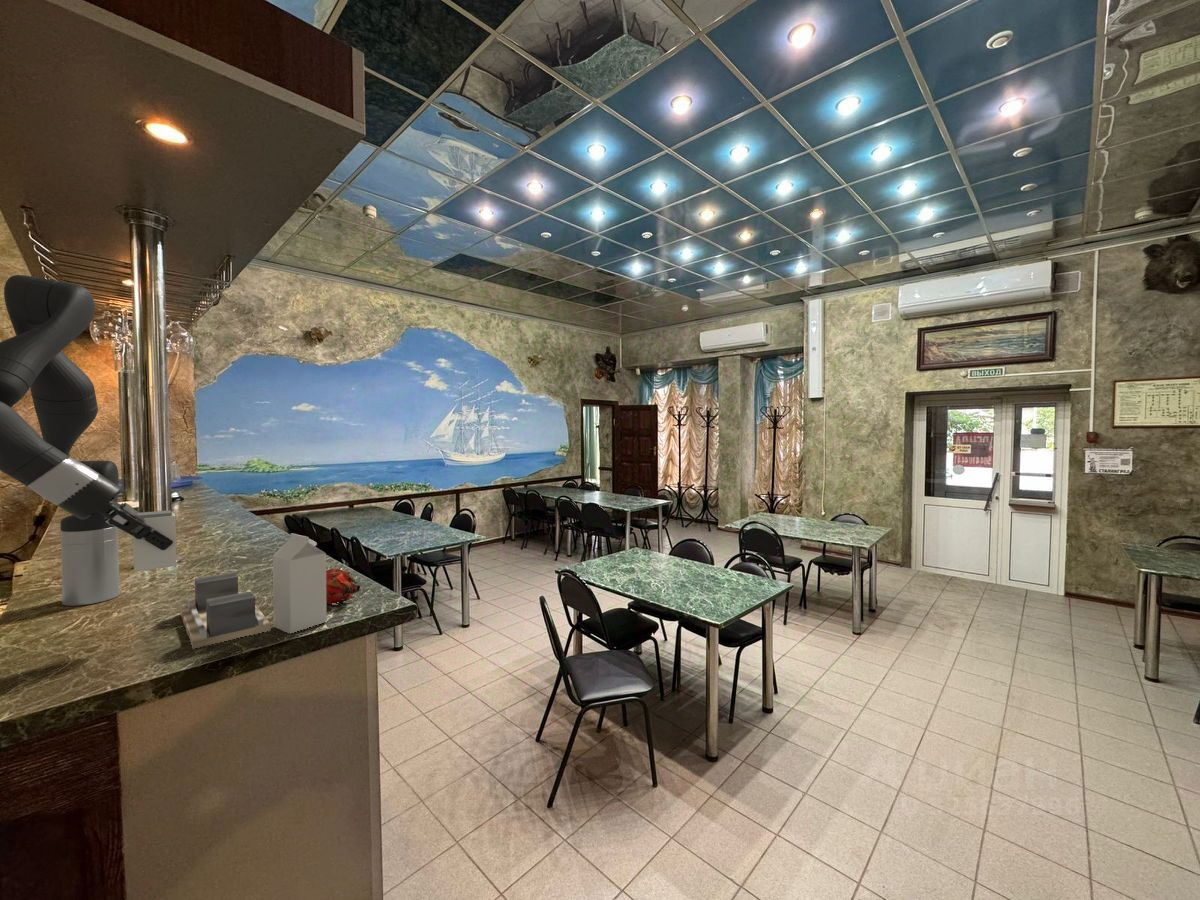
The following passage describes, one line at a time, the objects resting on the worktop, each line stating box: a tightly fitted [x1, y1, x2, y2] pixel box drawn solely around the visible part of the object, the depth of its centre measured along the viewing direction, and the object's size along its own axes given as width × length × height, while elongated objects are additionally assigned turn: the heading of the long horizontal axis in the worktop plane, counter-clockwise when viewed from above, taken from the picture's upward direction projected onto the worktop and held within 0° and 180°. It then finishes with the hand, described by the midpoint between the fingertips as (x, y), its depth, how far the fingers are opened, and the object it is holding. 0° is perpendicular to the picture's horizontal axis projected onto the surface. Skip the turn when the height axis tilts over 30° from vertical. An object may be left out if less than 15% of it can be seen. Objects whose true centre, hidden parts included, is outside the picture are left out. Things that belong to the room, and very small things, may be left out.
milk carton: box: [272, 532, 327, 635], centre depth 98 cm, size 7×7×19 cm
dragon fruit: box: [326, 567, 361, 605], centre depth 112 cm, size 8×8×12 cm
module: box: [132, 510, 177, 573], centre depth 93 cm, size 5×6×11 cm
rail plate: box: [179, 571, 272, 650], centre depth 100 cm, size 24×12×8 cm, turn 46°
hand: (167, 543), depth 94 cm, fingers closed on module, 5 cm apart
